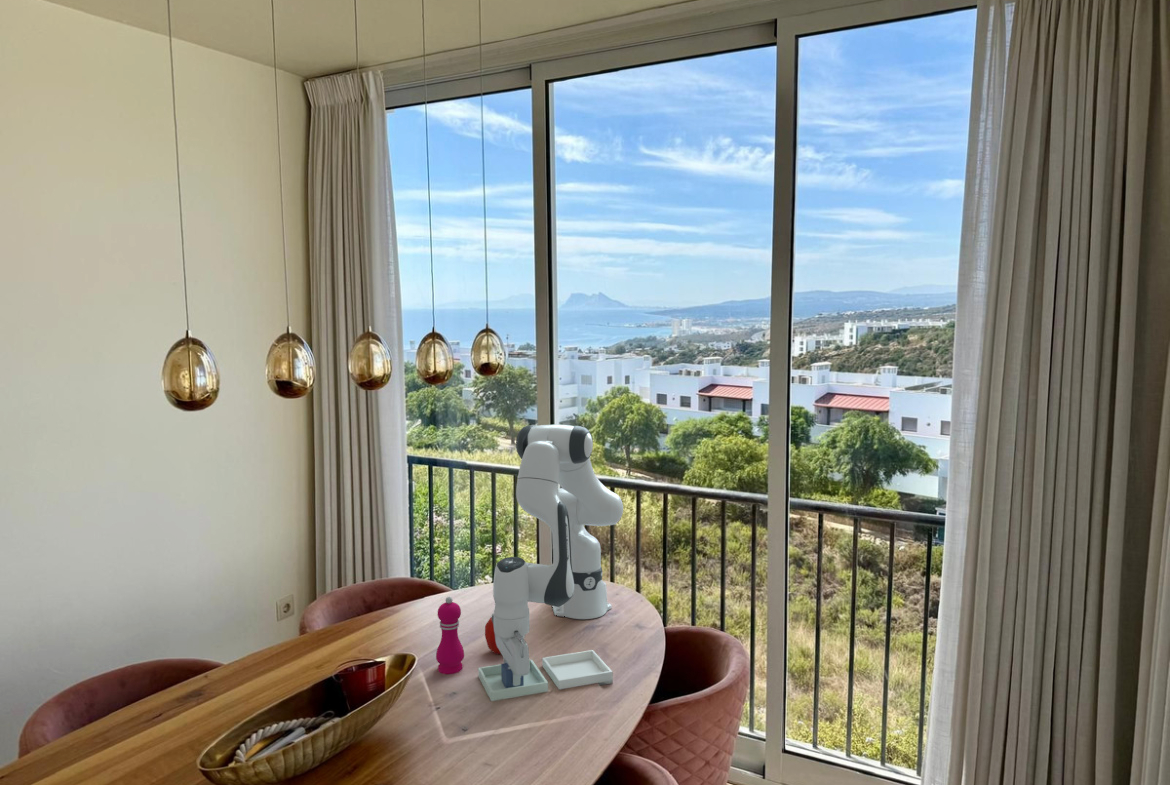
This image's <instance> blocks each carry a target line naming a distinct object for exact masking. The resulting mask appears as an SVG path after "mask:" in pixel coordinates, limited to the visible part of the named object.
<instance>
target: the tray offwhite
mask: <svg viewBox="0 0 1170 785" xmlns="http://www.w3.org/2000/svg"><path fill="white" fill-rule="evenodd" d="M541 659H542V660H541V662H542V663H541V667H542V668H543V669H544V671H545V672H546V674H547V675H548V676H549V678H550V679H551V680H552V681H553V684H555V686H556V688H558V690H565V689H570V688H576V687H582V686H588V685H594V684H598V685H599V686H604V685H610V684H613V683H614V671H613V670H612V669H611V668H610V667H609V666H608V665H607V664H606V662H604V660H603V659H602V657H600V655H598V654H597V653H596V651H595V650H593V649H589V650H584V651H578V652H571V653H570V652H569V653H565V654H557V655H552V656H546V657H542V658H541Z"/></svg>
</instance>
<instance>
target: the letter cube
mask: <svg viewBox="0 0 1170 785" xmlns="http://www.w3.org/2000/svg"><path fill="white" fill-rule="evenodd" d="M500 664H501V677H502V683H503V685H504V686H505V688H512V687H518V686H524V676H521V678H520V685H518V686H514V685H513V683H512V677H513V672H512V670H511V669H510V667H509V665H508V664H507V663H504V662H503V663H500Z"/></svg>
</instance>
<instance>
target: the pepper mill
mask: <svg viewBox="0 0 1170 785" xmlns="http://www.w3.org/2000/svg"><path fill="white" fill-rule="evenodd" d="M461 611H462V610H461V606H460V605H459V604H458V603H457V602H453V598H452V597H451V596H447V597H446V598H445V602H444V603H443V602H442V604H440V606H439V607H438V609H437V618H438V619H439V628H440V629H441V637H440V638H441V639H440V642H439V645H438V647H437V649H436V654H435V658H436V662H437V663H438V666H437V670H438V672H439V673H440V674H443V675H453V674H457V673H458V674H459V672H461V671H463V667H464V666H463V662H462V661H463V660H464V658H465V652H464V646H463V645H462V643H461V641H460V637H459V634H458V633H459V632H458V628H459V627H460V620H459V618H461V615H462V612H461Z"/></svg>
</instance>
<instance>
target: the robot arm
mask: <svg viewBox="0 0 1170 785" xmlns="http://www.w3.org/2000/svg"><path fill="white" fill-rule="evenodd" d="M515 440H516V441H515V449H516V452H517V455H518V456H519V457H520V459H521V460H520V466H519V469H518V475H517V482H516V487H515V488H516V489H515V490H516V491H515V496H516V502H517V503H518V505H519V507H520V508H521V509H522V510H523V511H525V512H526V513H527V514H529V515H530V516H533V518H537V519H538V520H540V521H542V522H543V523H545V524H546V525H547V526H548V527H549V529H550V531H551V534H552V535H551V536H552V539H551V541H552V558H553V559H552V560H553V561H552V564H541V563H533V562H526V561H525V558H524V559H523V558H522V557H519V556H509V557H508V556H507V557H504V558H502V559H500V560H499V561H498V562H496V565H495V569H494V575H493V588H492V589H493V590H492V591H493V592H492V594H493V595H492V598H493V600H494V601H493V602H494V609H493V613H491V617H492V622H493V624H494V633H495V641H496V645H497V648H498V649H499V651H500V652H501V654H500V655H502V660H503V663H507V664H508V665H509V667H510V669H511V670H512V672H513V677H512V683H513V685H514V686H518V685H520V678H521V676H524V675H528V674H529V671H530V664H529V660H530V652H529V645H528V642H527V641H526V640H525V637H526V636H525V635H527V634H528V633H529V632H530V628H531V627H530V609H529V605H528V602H529V603H536V604H545V605H548V606H551V608H552V607H553V608H552V610H553V614H554V616H556V615H557V617H564V616H565V617H564V618H569V619H573V620H574V619H575V620H589V619H592V620H593V619H596V618H600V617H602V616H604V615H605V614H606V613H607V612H608V611H609V610H611V609H612V604H611V603H609V602H608V591H607V583H606V582H605V581H603V574H604V573H603V567H602V566H601V562H602V558H601V557H602V555H601V553H602V552H601V544H600V542H599V540H598V539H597V537H595V536H593V535H592V534H590V532H588V530H587V529H586V528H585V526H594V527H606V526H615V525H616V524H618V522H619V521H620V520H621V518H622V517H623V514H624V504H623V501H622V498H621V496H619V495H618V494H617V493H615V492H613V491H612V490H610V489H609V488H608V487H606V486H605V485H604V484H603V483H602V482H601V481H600V480H599V479H598V477H597V475H596V473H595V472H594V468H593V465H592V461H591V455H592V452H593V447H594V442H593V441H594V440H593V435H592V433H591V432H590V431H589V429H588V428H586V427H584V426H580V425H570V424H556V423H555V424H540V425H536V424H531V425H525V426H522V428H521V429H520V430H519V431H518V433H517V436H516V439H515ZM559 486H560V487H561V488H560V487H559Z"/></svg>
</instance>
